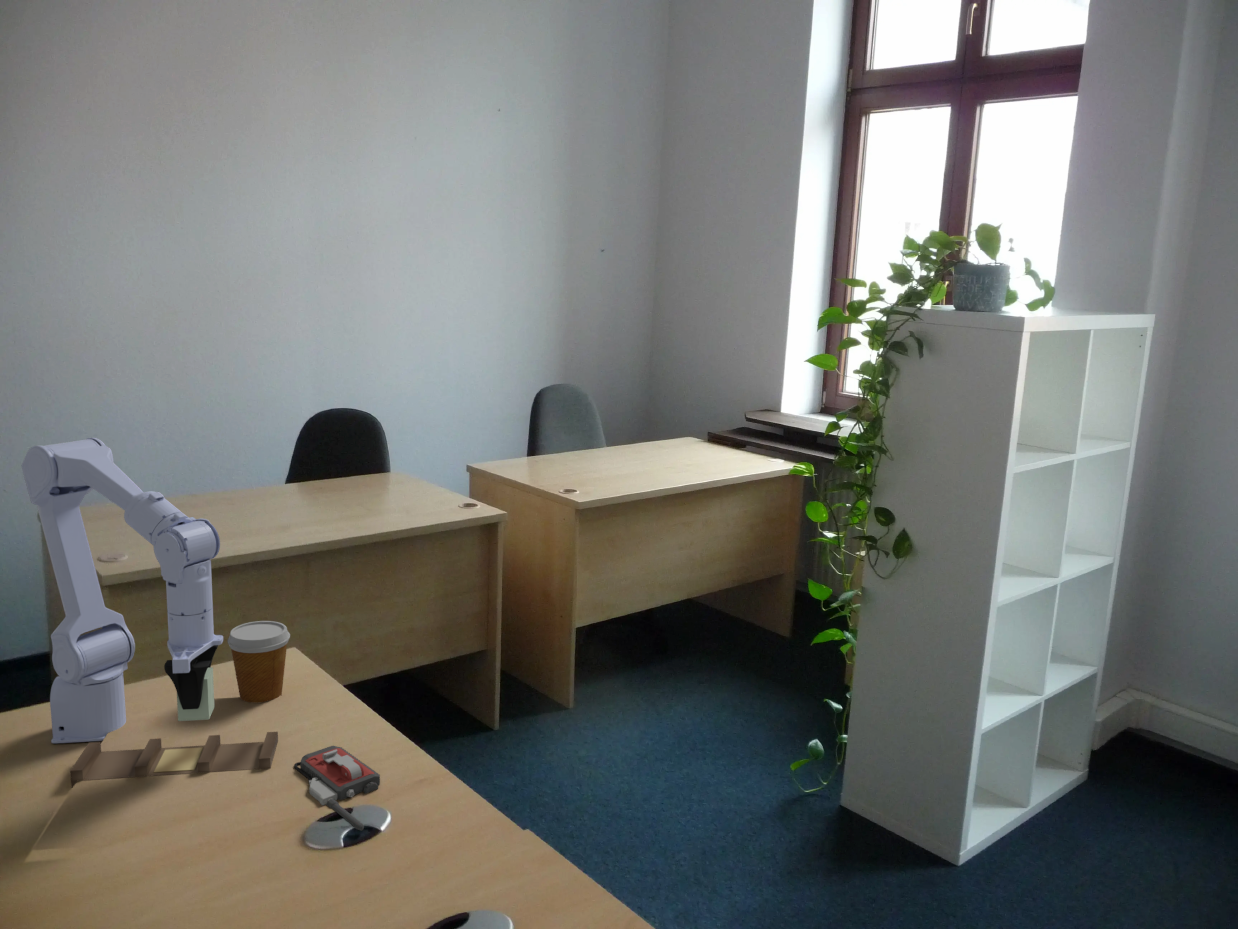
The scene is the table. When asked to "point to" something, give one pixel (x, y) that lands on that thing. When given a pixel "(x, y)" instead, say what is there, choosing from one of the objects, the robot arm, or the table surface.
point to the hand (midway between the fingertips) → (194, 700)
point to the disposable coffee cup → (259, 659)
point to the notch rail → (173, 759)
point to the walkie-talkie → (337, 778)
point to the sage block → (206, 701)
